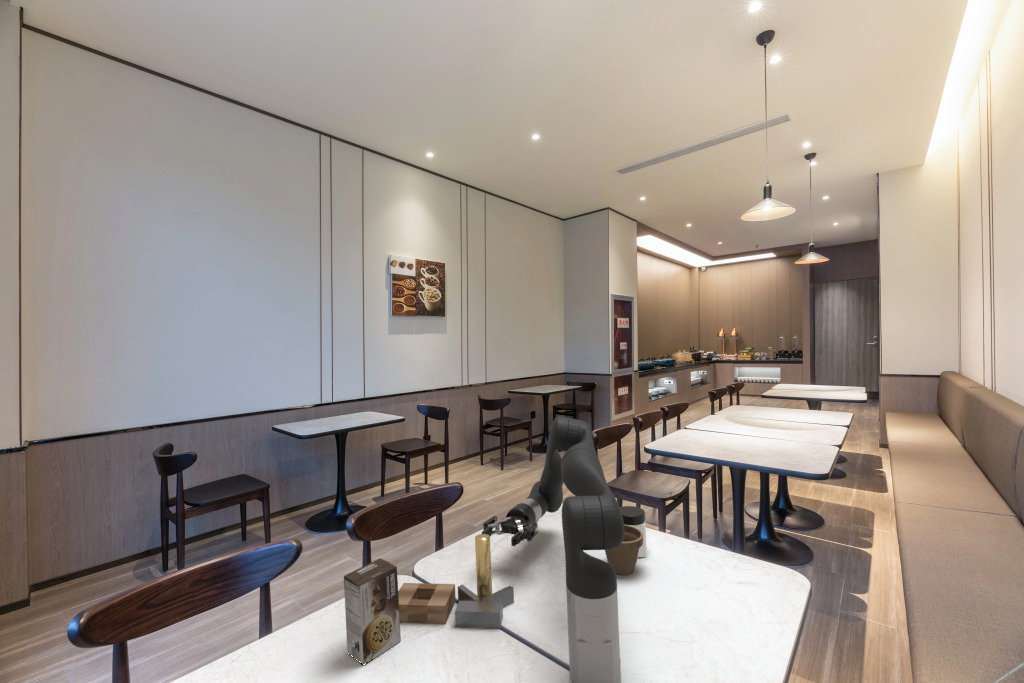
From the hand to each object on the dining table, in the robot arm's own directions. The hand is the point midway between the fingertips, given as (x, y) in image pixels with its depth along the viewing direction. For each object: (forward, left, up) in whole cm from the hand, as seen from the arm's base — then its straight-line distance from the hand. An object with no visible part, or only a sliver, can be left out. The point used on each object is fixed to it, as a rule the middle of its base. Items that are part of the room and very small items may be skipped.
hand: (497, 539), depth 113 cm
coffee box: (-24, +23, -12) cm, 35 cm away
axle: (-7, +2, -12) cm, 14 cm away
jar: (+20, -36, -12) cm, 43 cm away
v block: (-11, +2, -12) cm, 16 cm away
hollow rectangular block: (-11, +16, -12) cm, 23 cm away
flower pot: (+10, -32, -12) cm, 36 cm away
